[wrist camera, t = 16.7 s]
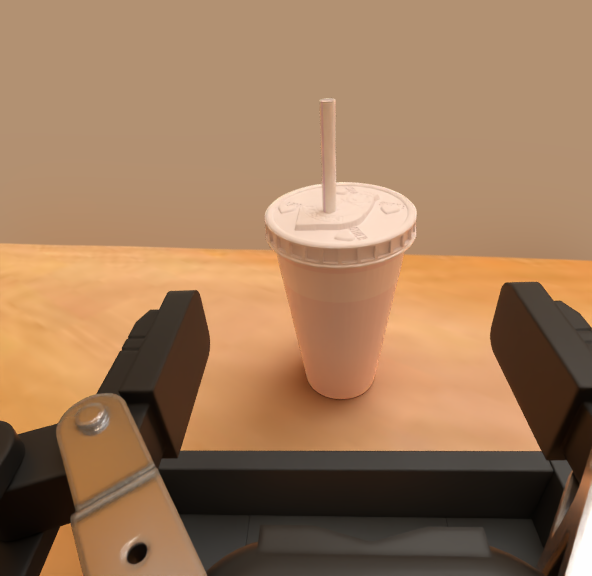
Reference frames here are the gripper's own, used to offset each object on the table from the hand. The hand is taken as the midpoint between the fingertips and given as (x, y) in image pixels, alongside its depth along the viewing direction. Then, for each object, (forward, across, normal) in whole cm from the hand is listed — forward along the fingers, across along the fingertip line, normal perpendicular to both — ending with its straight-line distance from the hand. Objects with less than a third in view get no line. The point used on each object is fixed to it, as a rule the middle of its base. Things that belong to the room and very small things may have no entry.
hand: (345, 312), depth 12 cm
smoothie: (+7, 0, +10) cm, 13 cm away
